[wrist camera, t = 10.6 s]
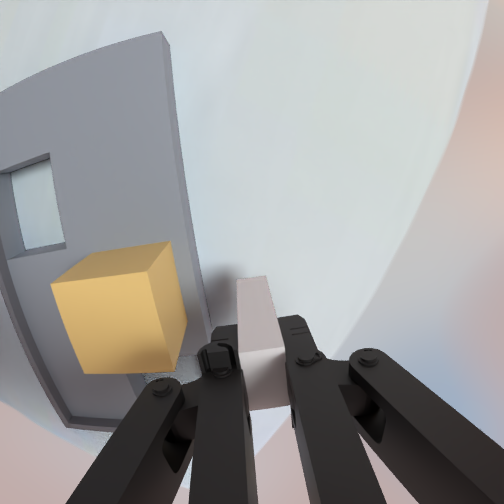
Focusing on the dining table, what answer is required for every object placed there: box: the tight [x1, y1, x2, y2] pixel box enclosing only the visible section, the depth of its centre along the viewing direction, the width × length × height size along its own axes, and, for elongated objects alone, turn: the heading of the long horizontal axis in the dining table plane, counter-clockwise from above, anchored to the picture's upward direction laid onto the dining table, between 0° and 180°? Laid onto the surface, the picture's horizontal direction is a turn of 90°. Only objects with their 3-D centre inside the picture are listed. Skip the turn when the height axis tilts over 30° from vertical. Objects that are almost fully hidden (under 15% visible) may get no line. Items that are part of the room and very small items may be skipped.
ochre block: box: [50, 241, 188, 374], centre depth 15 cm, size 5×5×5 cm
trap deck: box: [0, 31, 213, 432], centre depth 18 cm, size 14×26×4 cm, turn 7°
